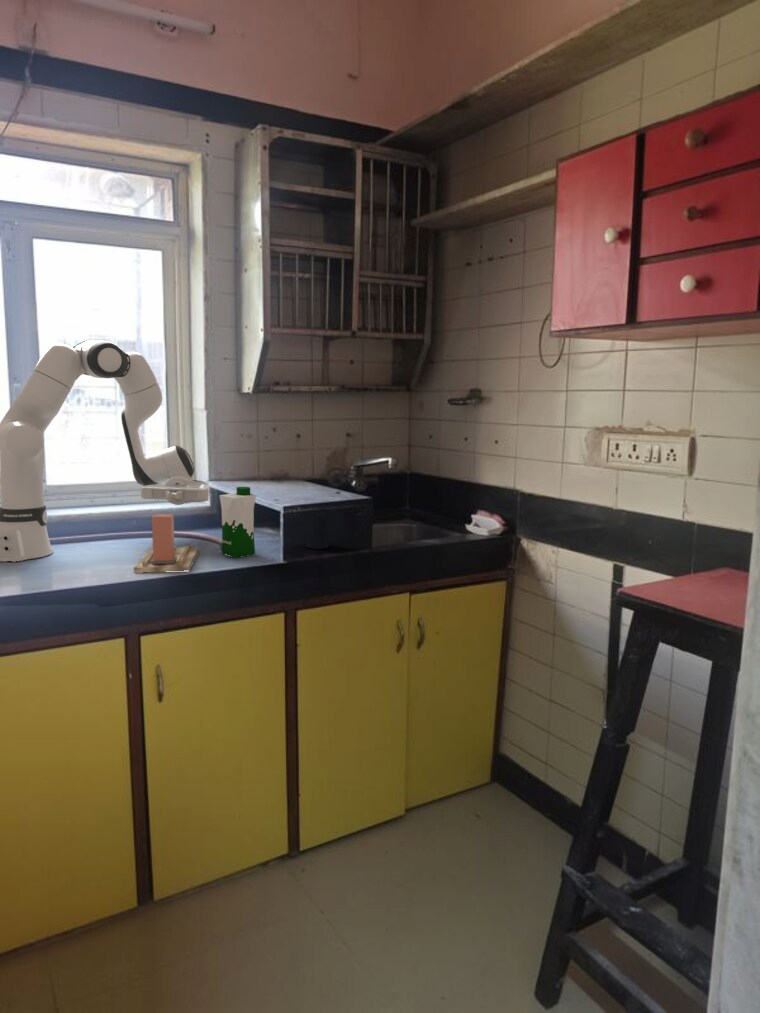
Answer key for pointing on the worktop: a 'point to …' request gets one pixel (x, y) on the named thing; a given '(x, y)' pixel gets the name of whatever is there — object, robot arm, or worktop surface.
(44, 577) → the worktop surface
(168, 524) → the salmon orange rectangular block
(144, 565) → the tan flat ridged board
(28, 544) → the robot arm
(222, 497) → the milk carton
